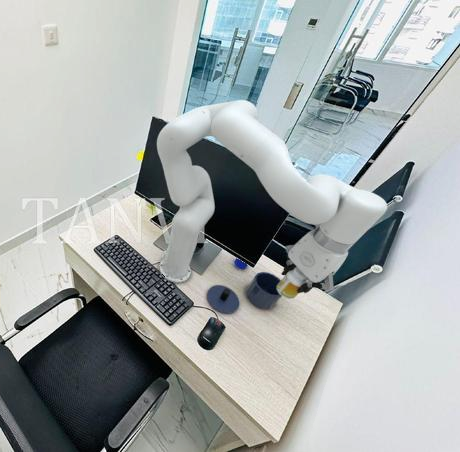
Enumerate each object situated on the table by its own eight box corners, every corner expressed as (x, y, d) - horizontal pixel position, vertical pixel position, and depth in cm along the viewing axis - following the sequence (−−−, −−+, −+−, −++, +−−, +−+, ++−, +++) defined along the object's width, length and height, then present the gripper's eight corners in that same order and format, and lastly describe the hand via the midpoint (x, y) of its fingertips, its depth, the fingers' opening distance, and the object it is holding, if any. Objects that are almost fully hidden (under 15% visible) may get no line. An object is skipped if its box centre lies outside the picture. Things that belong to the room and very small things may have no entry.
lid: (200, 290, 96) (204, 281, 92) (226, 283, 99) (231, 275, 95) (217, 318, 88) (222, 309, 84) (244, 309, 91) (250, 301, 87)
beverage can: (247, 271, 104) (262, 246, 94) (234, 268, 105) (248, 243, 95) (245, 261, 108) (259, 236, 98) (232, 259, 108) (246, 234, 98)
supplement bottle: (299, 298, 74) (318, 278, 68) (283, 300, 73) (301, 281, 67) (287, 282, 78) (304, 262, 72) (272, 285, 77) (288, 265, 71)
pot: (240, 288, 98) (248, 275, 92) (261, 282, 100) (271, 269, 94) (257, 312, 91) (268, 299, 85) (280, 305, 93) (291, 292, 87)
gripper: (293, 217, 65) (263, 261, 78) (353, 269, 54) (306, 312, 66) (315, 213, 67) (282, 257, 80) (378, 263, 55) (328, 305, 68)
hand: (293, 282), depth 73 cm, fingers closed on supplement bottle, 5 cm apart
